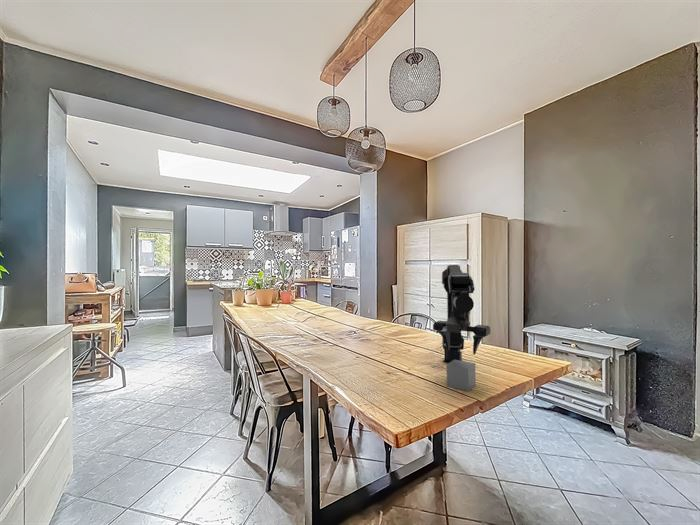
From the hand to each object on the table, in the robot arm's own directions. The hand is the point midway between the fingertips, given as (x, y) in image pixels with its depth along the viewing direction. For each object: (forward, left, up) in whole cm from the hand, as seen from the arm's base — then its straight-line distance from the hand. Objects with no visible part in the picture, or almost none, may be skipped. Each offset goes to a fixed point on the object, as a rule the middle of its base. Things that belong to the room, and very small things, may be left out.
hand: (461, 352), depth 108 cm
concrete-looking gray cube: (0, 0, -12) cm, 12 cm away
